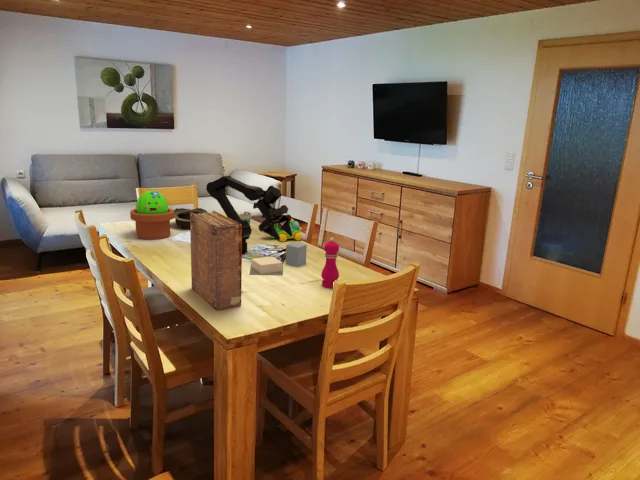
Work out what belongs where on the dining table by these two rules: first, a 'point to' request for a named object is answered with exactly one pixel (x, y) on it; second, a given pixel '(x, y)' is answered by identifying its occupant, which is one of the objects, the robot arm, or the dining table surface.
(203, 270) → the book
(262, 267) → the base brick
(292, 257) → the tall brick
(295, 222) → the turtle toy
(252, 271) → the baseplate
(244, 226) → the robot arm
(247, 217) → the food container
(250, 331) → the dining table surface
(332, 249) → the pepper mill
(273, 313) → the dining table surface
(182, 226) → the stone bowl
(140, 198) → the potted cactus
